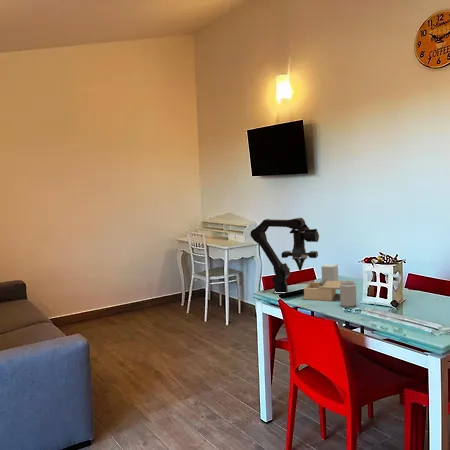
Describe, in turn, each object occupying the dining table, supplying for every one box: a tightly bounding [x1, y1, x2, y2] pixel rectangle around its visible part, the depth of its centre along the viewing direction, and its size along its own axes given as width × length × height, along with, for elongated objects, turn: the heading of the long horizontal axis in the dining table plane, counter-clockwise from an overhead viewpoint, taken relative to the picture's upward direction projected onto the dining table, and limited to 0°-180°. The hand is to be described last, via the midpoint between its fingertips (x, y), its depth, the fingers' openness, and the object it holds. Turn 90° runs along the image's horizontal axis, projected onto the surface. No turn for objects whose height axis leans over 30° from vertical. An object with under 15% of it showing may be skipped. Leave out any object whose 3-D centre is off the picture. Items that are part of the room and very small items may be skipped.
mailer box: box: [303, 281, 337, 302], centre depth 249 cm, size 14×14×6 cm
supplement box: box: [321, 263, 340, 281], centre depth 268 cm, size 7×7×13 cm
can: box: [339, 279, 357, 308], centre depth 230 cm, size 8×8×12 cm
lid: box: [318, 278, 341, 290], centre depth 246 cm, size 14×14×3 cm
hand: (300, 270), depth 256 cm, fingers closed
